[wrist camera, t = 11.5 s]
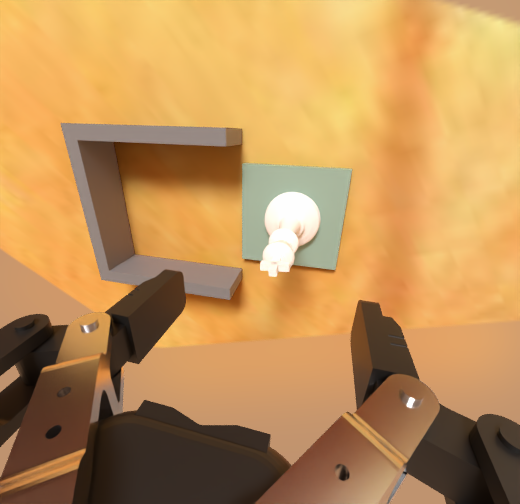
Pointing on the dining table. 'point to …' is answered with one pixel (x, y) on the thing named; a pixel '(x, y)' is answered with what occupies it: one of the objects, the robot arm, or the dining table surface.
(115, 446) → the robot arm
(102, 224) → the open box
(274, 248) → the chess piece
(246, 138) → the dining table surface
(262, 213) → the mat
